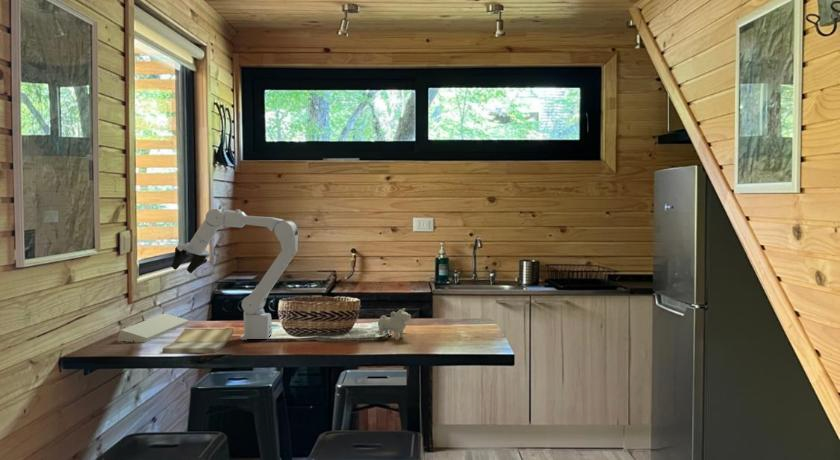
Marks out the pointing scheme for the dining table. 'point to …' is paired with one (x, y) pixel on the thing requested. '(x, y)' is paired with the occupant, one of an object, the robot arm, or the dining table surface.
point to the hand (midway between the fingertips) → (181, 269)
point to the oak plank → (205, 335)
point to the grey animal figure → (394, 323)
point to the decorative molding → (151, 328)
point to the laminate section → (193, 347)
